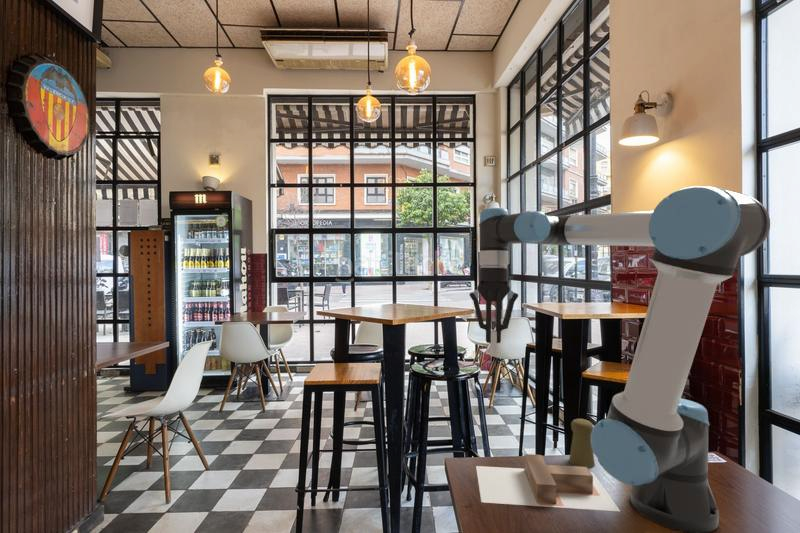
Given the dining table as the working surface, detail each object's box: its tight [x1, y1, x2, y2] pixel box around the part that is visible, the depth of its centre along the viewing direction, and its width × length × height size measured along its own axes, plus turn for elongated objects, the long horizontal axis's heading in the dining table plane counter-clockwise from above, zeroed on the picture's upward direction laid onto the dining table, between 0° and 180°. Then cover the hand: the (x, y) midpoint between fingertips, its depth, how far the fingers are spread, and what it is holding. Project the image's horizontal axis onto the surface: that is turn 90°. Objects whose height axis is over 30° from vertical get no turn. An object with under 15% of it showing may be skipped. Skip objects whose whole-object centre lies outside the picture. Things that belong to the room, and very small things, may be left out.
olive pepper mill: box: [568, 418, 596, 469], centre depth 106 cm, size 6×6×11 cm
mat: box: [475, 465, 621, 513], centre depth 94 cm, size 28×16×1 cm, turn 84°
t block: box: [523, 453, 593, 504], centre depth 94 cm, size 13×14×4 cm
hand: (493, 354), depth 111 cm, fingers closed
